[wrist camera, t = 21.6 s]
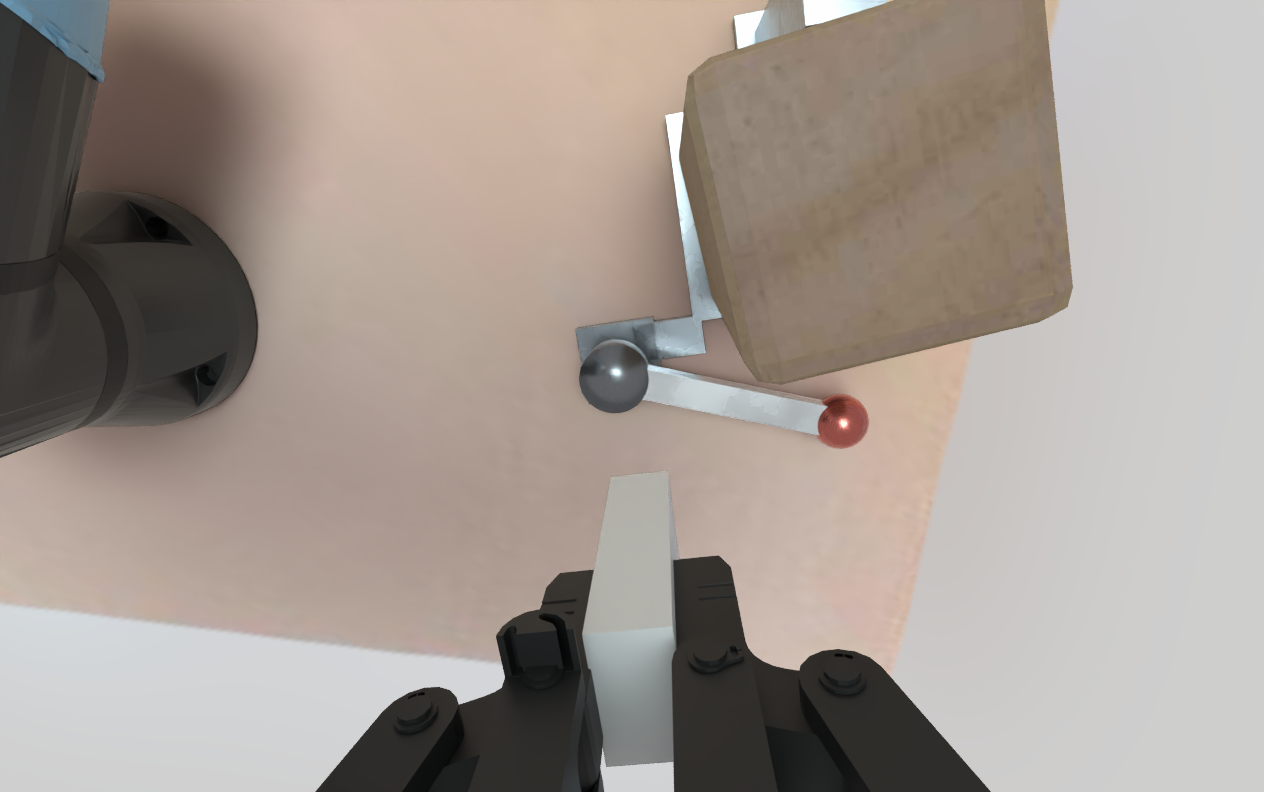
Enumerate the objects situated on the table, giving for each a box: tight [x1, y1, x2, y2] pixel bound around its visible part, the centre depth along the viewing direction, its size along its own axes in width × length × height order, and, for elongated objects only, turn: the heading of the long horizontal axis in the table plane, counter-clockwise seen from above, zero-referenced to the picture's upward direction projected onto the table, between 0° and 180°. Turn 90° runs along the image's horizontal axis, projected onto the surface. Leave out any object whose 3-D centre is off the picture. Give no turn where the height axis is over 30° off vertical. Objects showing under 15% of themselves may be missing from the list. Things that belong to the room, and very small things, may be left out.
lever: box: [579, 339, 869, 449], centre depth 38 cm, size 4×17×3 cm, turn 79°
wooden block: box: [679, 0, 1073, 384], centre depth 28 cm, size 10×10×20 cm
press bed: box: [576, 0, 887, 404], centre depth 33 cm, size 20×21×14 cm
